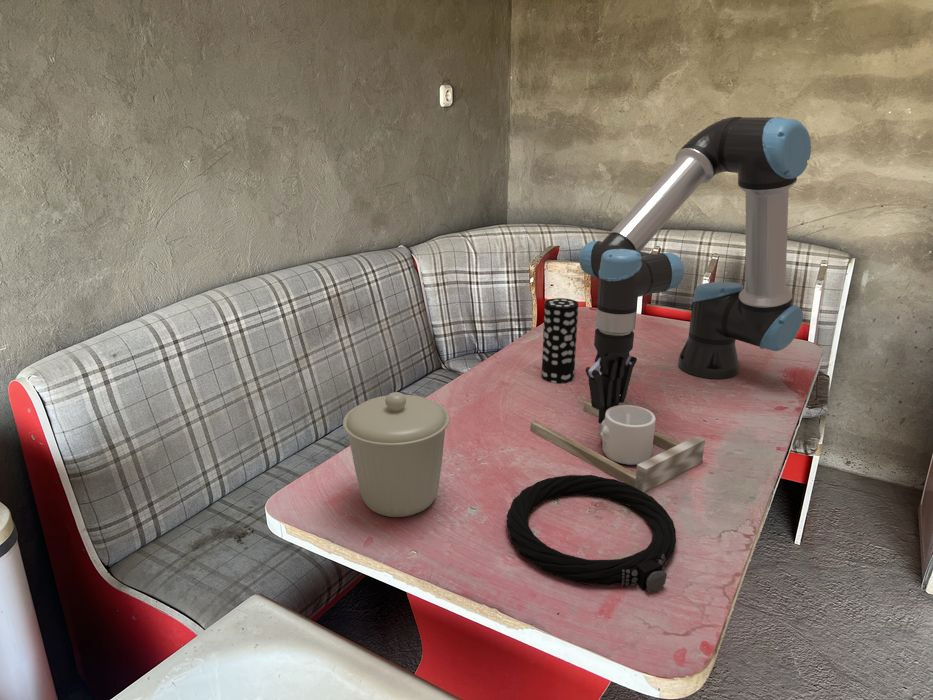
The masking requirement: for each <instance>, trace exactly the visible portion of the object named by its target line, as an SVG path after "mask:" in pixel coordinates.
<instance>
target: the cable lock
mask: <svg viewBox="0 0 933 700" xmlns="http://www.w3.org/2000/svg"><path fill="white" fill-rule="evenodd" d="M572 495H573V496H574V495H589V496H592V497H593V496H594V497H603V498H608V499H611V500H613V501H614V502H618V503H621V504H624V505H627V506H628V507H630V508H631V509H632V510H634V511H636V513H638V514H639V515H641V516H642V517H643V518H644V519H645V520H646V521H647V522H648V523H649V525H650V527H651V530H652V538H651V541H650V543H649V544H648V546H647V547H646V548H645V549H642V550H640V551H638V552H637V553H633V554H632V555H627V556H625V557H622V558H616V559H615V558H614V559H587V558H582V557H578V556H575V555H569V554H566V553H563V552H560V551H558V549H557V550H556V549H554V548H552V547H550V546H548V545H546V543H544V542H543V541H542V540H540V538H539V537H537V536H536V535H535V534H534V532H533V531H532V529H531V527H530V524H529V517H530V514H531V513H532V512H533V509H535V508H536V507H537V506H540V504H542V503H543V502H546V501H548V500H551V499H554V498H558V497H561V496H562V497H563V496H572ZM506 527H507V531H508V535H509V538H510V541H511V543H512V545H514V546H513V547H515V548H516V549H517V550H518V552H519V555H522V556H523V557H524V558H526V559H528V561H530V562H531V563H532V564H534V565H536V566H537V567H538V568H540V569H541V570H542V571H544V572H546V573H548V574H551V575H552V576H555V577H561V578H563V579H566V580H569V581H572V582H575V583H578V584H583V585H584V584H585V585H589V584H590V585H601V586H602V585H603V586H611V585H618V584H619V586H620V587H625V588H628V587H629V586H630V587H632V588H633V587H635V586H636V585H637V586H638V587H639V588H640V589H641V591H645V590H646V592H648V593H649V594H651V593H653V594H654V593H656V592H659V591H660V590H661V589H662V588H663V587H664V586H665V584H666V581H667V573H666V572H665V571H664V568H665V566H666V564H667V563H668V561H669V560H670V558H671V557H672V555H673V554H674V550H675V548H676V544H677V531H676V527H675V524H674V520H673V519H672V518H671V516H670V515H669V513H668V512H667V510H666V509H665V508H664V506H663V505H661V503H659V502H658V501H657V500H656V499H655V498H654V497H653V496H651V495H649V494H648V493H647V492H645V493H644V492H642V491H640V490H639V489H637V488H635V487H633V486H631V485H629V484H626V483H624V482H622V481H621V480H619V479H616V478H606V477H603V476H598V475H593V474H585V475H583V474H582V475H581V474H580V475H579V474H578V475H577V474H567V475H560V476H554V477H548V478H545V479H542V480H539V481H537V482H534V484H532V485H529V486H527V487H526V488H524V489H522V490H521V491H520V493H519V494H518V495H517V496H516V497H514V498H513V499H512V502H511V504H510V507H509V509H508V511H507V514H506Z"/></svg>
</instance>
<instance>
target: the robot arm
mask: <svg viewBox="0 0 933 700" xmlns="http://www.w3.org/2000/svg"><path fill="white" fill-rule="evenodd" d="M811 152H812V144H811V136H810V133H809V131H808V129H807V127H806V126H805V125H804V124H803V123H802V122H801V121H799V120H798V119H795V118H794V119H793V118H786V117H779V116H776V117H772V116H770V117H765V116H763V117H757V116H756V117H749V116H748V117H747V116H746V117H745V116H744V117H742V116H732V117H731V116H730V117H727V118H723V119H721V120H720V119H719V120H717V121H715V122H714V123H712V124H710V125H708V126H706V127H705V128H704V129H702V130H701V131H699V132H698V133H697V134H695V135H694V136H693V137H692V138H690V139H689V140H688V141H687V142H686V143H685V144H684V145H683V146H682V147H681V148H680V149H679V150H678V152H677V153H676V155H675V160H674V163H673V164H671V166H669V168H668V169H667V170H666V171H665V172H664V173H663V175H661V177H660V178H659V179H658V180H657V181H656V182H655V183H654V184H653V185H652V187H651V188H650V189H649V190H648V191H647V192H646V193H645V194H644V195H643V196H642V198H641V199H639V201H638V202H637V203H636V204H635V205H634V206H633V207H632V208H631V210H630V211H629V212H628V213H627V214H626V215H625V216H624V217H623V218H622V219H621V221H620V222H619V223H618V224H616V226H615V227H614V228H613V229H612V230H611V231H610V232H609V234H608V235H607V236H606V237H605V238H604V239H603V240H602V241H601V240H592V241H589V242H587V243H585V245H584V246H583V247H582V249H581V251H580V254H579V257H578V259H579V260H578V261H579V262H578V263H579V266H580V269H581V270H582V271H583V272H584V274H587V275H589V276H591V277H594V278H595V279H598V289H597V302H596V307H597V308H596V319H595V320H596V322H595V327H596V329H595V330H594V343H593V345H594V348H595V350H596V356H595V358H594V363H593V365H592V366H591V367H590V366H586V368H585V373H586V375H587V377H588V378H587V379H588V385H589V395H590V402H591V404H592V407H594V408H596V409H598V410H599V417H597V418H598V420H597V422H598V433H597V434H598V436H600V437H601V435H600V434H601V432H602V429H603V428H602V425H601V423H602V421H603V420H604V419H605V413H606V411H607V410H608V409H609V408H611V407H613V406H617V405H621V404H623V403H625V401H626V396H627V394H628V389H629V385H630V381H631V378H632V374H633V371H634V368H635V365H636V363H637V360H638V359H637V357H636V356H633V355H630V352H631V351H632V350H633V347H634V339H635V332H634V331H635V329H636V323H637V322H636V321H637V320H636V319H637V307H638V300H639V299H638V298H639V297H643V296H648V295H653V294H657V293H665V292H668V290H673V289H675V288H676V287H678V286H679V285H680V284H682V281H683V279H684V276H685V266H684V262H682V259H681V258H680V257H679V255H677V254H675V253H672V252H658V253H650V252H645V251H642V250H643V249H644V248H645V246H646V245H647V244H648V243H649V242H650V241H651V240H652V239H653V237H655V235H656V234H657V233H658V232H659V231H660V230H661V229H662V228H663V226H664V225H666V223H667V222H668V221H669V220H670V219H671V218H672V217H673V215H674V214H675V213H676V212H677V211H678V210H679V209H680V207H681V206H682V205H683V204H684V203H685V202H686V201H687V200H688V199H689V198H690V196H691V195H693V193H695V191H696V190H697V189H698V188H699V186H701V184H706V183H708V182H710V181H711V180H712V179H713V178H714V177H715V176H716V175H717V174H718V175H719V174H722V173H724V172H726V173H727V172H728V173H734V174H735V173H736V174H737V186H738V187H739V189H741V190H742V191H743V192H744V193H745V287H744V285H743V284H741V283H738V282H733V281H731V282H730V281H716V282H715V281H713V282H706V283H702V284H700V285H698V286H696V288H694V292H693V298H692V300H691V301H692V303H691V305H692V306H691V313H690V322H689V328H688V337H687V340H686V342H685V344H684V345H683V348H682V350H681V351H680V354H679V355H678V363H677V366H678V367H679V369H680V370H682V371H683V372H685V373H687V374H689V375H692V376H695V377H700V378H705V379H706V378H707V379H713V380H714V379H717V380H718V379H719V380H720V379H729V378H732V377H735V376H736V375H737V374H738V372H739V368H740V362H739V358H738V352H737V348H736V346H737V345H736V340H737V341H739V342H742V343H746V344H750V345H753V346H755V347H759V349H763V350H764V349H765V350H769V351H772V352H779V351H782V350H784V349H785V348H787V347H788V346H790V345H791V343H792V342H793V341H794V340H795V338H796V337H797V335H798V332H799V331H800V329H801V326H802V324H803V320H804V319H803V318H804V312H803V309H802V308H801V307H800V306H798V305H795V304H793V292H792V291H791V290H790V289H789V288H788V287H787V286H786V285H787V283H786V282H787V280H786V279H787V252H788V251H787V250H788V249H787V248H788V222H789V193H790V191H789V190H790V189H791V187H793V186H794V185H795V184H796V183H797V181H798V177H800V176H801V175H802V174H803V173H804V172H805V170H806V169H807V166H808V164H809V163H808V161H809V160H810V158H811Z"/></svg>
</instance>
